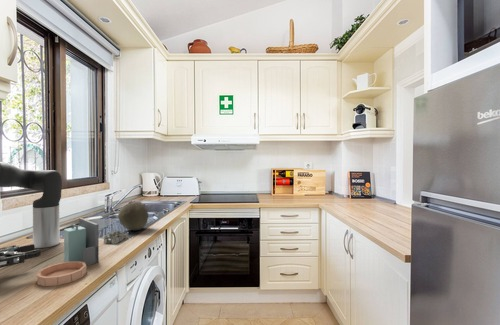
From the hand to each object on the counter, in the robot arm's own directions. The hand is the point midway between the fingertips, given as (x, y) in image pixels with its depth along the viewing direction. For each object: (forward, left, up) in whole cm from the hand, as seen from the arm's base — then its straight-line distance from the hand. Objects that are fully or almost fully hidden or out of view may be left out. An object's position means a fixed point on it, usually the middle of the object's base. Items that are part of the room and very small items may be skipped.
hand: (37, 249), depth 88 cm
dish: (+7, +11, -7) cm, 15 cm away
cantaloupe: (-47, +19, -7) cm, 51 cm away
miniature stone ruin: (-31, +15, -7) cm, 35 cm away
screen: (-9, +10, -7) cm, 15 cm away
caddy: (-7, +8, -7) cm, 13 cm away
